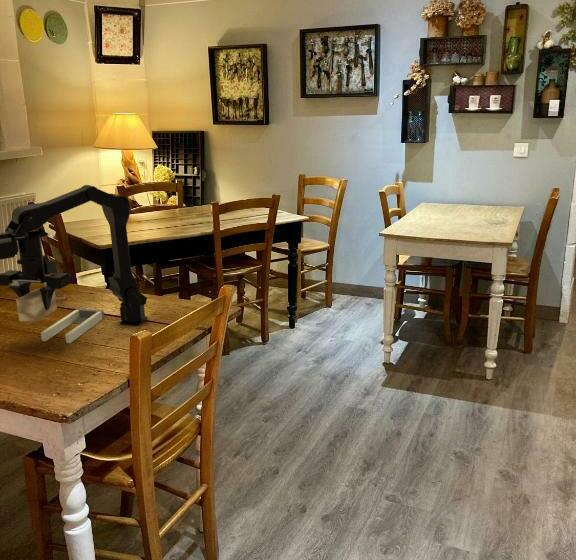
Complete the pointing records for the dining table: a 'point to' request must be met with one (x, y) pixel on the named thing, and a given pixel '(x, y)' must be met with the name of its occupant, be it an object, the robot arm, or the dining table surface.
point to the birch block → (34, 306)
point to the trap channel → (76, 317)
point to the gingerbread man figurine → (59, 297)
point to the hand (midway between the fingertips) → (38, 309)
